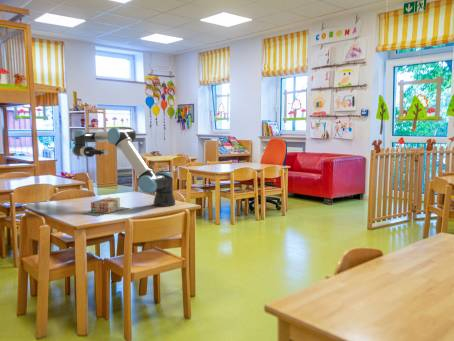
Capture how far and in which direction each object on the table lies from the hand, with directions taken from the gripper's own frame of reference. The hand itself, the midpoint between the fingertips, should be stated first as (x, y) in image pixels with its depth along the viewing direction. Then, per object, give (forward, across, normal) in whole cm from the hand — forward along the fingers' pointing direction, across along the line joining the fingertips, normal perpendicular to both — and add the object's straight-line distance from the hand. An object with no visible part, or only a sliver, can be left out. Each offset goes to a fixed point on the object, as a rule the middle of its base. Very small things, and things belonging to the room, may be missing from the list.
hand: (107, 152), depth 288 cm
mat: (+21, +16, -36) cm, 45 cm away
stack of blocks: (+13, +17, -32) cm, 39 cm away
